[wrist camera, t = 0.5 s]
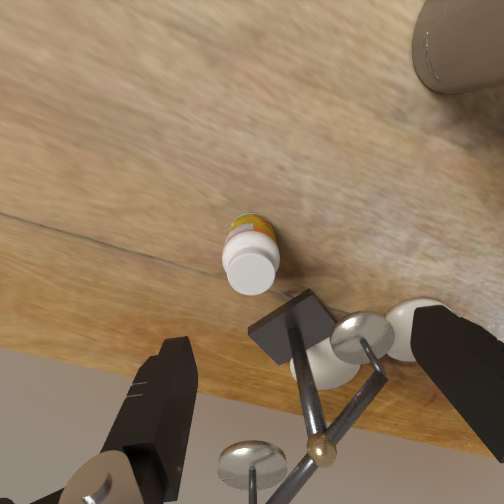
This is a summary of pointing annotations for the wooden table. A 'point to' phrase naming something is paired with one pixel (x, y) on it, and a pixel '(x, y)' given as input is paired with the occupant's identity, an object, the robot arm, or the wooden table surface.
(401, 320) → the dish low side
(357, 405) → the balance
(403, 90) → the wooden table surface
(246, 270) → the supplement bottle
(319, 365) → the dish high side
